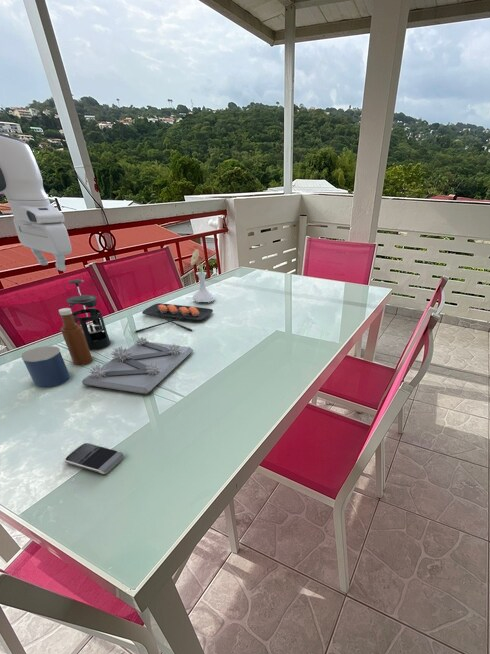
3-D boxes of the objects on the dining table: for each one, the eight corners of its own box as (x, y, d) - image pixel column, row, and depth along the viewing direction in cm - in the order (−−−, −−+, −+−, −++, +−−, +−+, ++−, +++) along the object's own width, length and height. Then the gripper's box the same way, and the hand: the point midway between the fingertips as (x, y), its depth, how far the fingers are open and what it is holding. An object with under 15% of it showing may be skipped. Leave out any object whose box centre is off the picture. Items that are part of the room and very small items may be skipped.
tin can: (27, 382, 98) (13, 355, 93) (58, 369, 105) (47, 343, 100) (46, 391, 95) (33, 363, 89) (77, 377, 101) (66, 350, 96)
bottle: (69, 362, 109) (49, 310, 99) (85, 356, 113) (67, 305, 103) (80, 367, 107) (61, 314, 97) (96, 360, 111) (79, 308, 101)
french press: (105, 351, 117) (84, 284, 104) (76, 351, 115) (52, 284, 102) (115, 337, 126) (98, 275, 113) (89, 337, 125) (68, 275, 112)
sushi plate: (215, 313, 153) (214, 304, 151) (186, 338, 128) (184, 329, 126) (157, 306, 156) (155, 298, 154) (117, 330, 132) (115, 321, 129)
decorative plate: (148, 397, 94) (143, 375, 90) (81, 387, 97) (72, 366, 93) (194, 352, 119) (192, 333, 115) (140, 345, 122) (135, 327, 118)
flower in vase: (194, 297, 170) (187, 245, 156) (217, 298, 171) (212, 245, 157) (190, 306, 159) (182, 250, 145) (214, 306, 160) (209, 251, 146)
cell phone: (86, 446, 77) (84, 441, 76) (126, 457, 74) (124, 452, 74) (63, 464, 72) (61, 459, 71) (105, 476, 70) (103, 472, 69)
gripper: (-1, 209, 88) (21, 263, 96) (40, 216, 80) (60, 275, 88) (26, 208, 93) (45, 260, 101) (67, 215, 84) (84, 271, 92)
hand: (52, 267), depth 94 cm, fingers open, 8 cm apart
